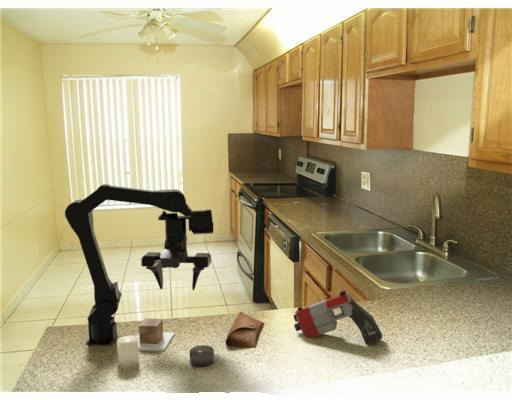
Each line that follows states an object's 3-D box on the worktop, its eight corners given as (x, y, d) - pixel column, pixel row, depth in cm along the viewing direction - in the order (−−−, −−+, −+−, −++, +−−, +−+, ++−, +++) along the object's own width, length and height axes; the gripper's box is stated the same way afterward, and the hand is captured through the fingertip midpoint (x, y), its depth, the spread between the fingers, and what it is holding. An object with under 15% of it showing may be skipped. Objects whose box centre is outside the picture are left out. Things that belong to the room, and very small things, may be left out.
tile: (127, 349, 118) (127, 347, 118) (140, 333, 128) (140, 331, 128) (164, 350, 117) (164, 348, 117) (174, 334, 127) (174, 332, 127)
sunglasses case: (257, 348, 118) (244, 327, 118) (234, 360, 119) (221, 338, 119) (265, 322, 136) (253, 303, 135) (245, 332, 137) (234, 313, 137)
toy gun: (311, 355, 130) (290, 308, 130) (382, 332, 123) (359, 282, 123) (309, 363, 125) (286, 314, 125) (382, 340, 118) (358, 288, 119)
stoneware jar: (115, 367, 109) (113, 344, 108) (122, 357, 114) (121, 335, 113) (135, 368, 108) (133, 344, 107) (141, 358, 113) (141, 335, 112)
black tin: (187, 367, 109) (186, 356, 108) (192, 356, 115) (192, 344, 114) (211, 368, 108) (211, 356, 108) (215, 356, 114) (215, 345, 114)
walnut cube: (139, 343, 120) (138, 325, 120) (145, 335, 125) (145, 318, 125) (157, 343, 120) (157, 326, 119) (163, 336, 125) (162, 318, 124)
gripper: (133, 241, 117) (135, 298, 119) (203, 241, 116) (204, 300, 118) (146, 232, 128) (148, 285, 130) (211, 233, 127) (212, 286, 129)
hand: (177, 289), depth 126 cm, fingers open, 9 cm apart
